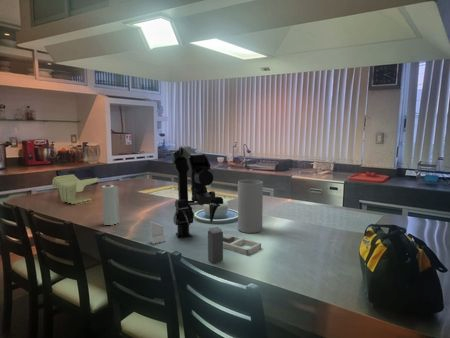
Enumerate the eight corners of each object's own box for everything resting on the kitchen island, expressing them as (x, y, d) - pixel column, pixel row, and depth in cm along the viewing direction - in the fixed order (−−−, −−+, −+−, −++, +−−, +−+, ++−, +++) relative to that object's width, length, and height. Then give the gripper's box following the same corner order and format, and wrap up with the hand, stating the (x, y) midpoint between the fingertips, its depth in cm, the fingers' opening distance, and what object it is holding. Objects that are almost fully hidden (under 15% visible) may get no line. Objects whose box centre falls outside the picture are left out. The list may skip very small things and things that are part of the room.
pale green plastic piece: (53, 201, 223) (52, 176, 221) (75, 197, 236) (73, 174, 234) (77, 207, 207) (75, 180, 204) (99, 202, 220) (97, 177, 217)
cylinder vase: (261, 234, 154) (262, 184, 151) (236, 233, 156) (236, 183, 153) (262, 226, 166) (263, 180, 163) (239, 225, 168) (239, 179, 165)
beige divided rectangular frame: (261, 248, 136) (261, 240, 136) (247, 255, 129) (248, 247, 128) (226, 238, 148) (226, 231, 148) (212, 244, 141) (212, 237, 140)
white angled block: (141, 238, 141) (149, 220, 143) (159, 244, 147) (167, 227, 149) (144, 240, 138) (152, 222, 140) (162, 247, 144) (170, 229, 146)
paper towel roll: (101, 225, 168) (99, 186, 166) (109, 222, 174) (107, 184, 171) (112, 226, 166) (110, 187, 163) (119, 223, 171) (118, 185, 169)
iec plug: (208, 260, 124) (207, 228, 122) (218, 257, 126) (218, 226, 125) (212, 263, 121) (212, 231, 119) (222, 261, 123) (222, 229, 121)
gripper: (180, 187, 114) (182, 229, 115) (227, 183, 121) (229, 223, 122) (173, 186, 125) (175, 225, 125) (217, 182, 132) (219, 219, 132)
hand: (200, 223), depth 126 cm, fingers open, 9 cm apart
